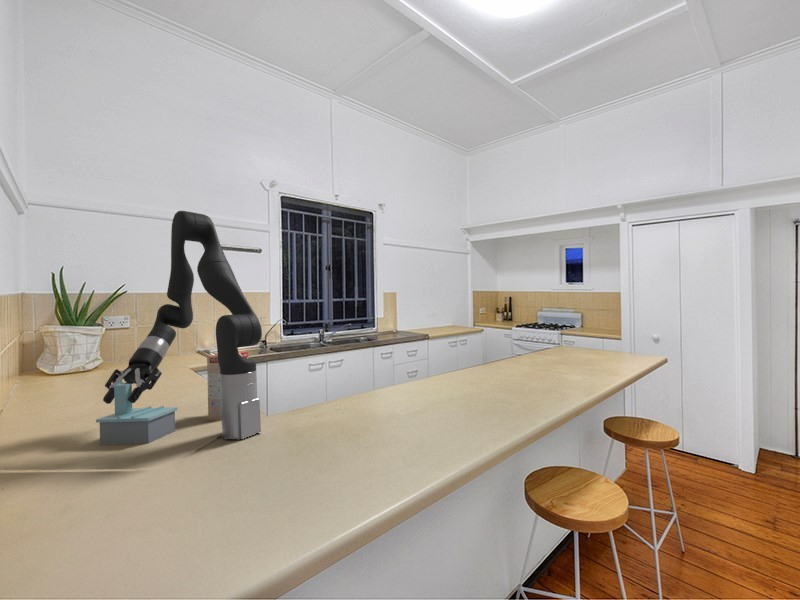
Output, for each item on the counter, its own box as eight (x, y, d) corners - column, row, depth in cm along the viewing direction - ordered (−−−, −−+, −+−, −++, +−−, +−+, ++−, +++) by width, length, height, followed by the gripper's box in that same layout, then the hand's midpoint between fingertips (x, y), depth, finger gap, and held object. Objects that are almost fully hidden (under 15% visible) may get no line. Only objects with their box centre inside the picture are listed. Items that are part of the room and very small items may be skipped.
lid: (177, 409, 108) (176, 379, 108) (148, 421, 97) (147, 387, 97) (130, 411, 110) (129, 381, 110) (96, 422, 99) (95, 389, 99)
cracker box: (224, 422, 117) (221, 355, 117) (207, 421, 118) (205, 355, 118) (251, 410, 130) (248, 350, 131) (235, 410, 131) (233, 351, 132)
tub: (175, 433, 107) (174, 410, 108) (148, 445, 98) (148, 420, 98) (130, 434, 109) (130, 411, 109) (100, 446, 99) (99, 421, 99)
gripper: (121, 347, 113) (85, 395, 101) (165, 345, 111) (134, 393, 99) (135, 362, 118) (103, 409, 106) (177, 360, 116) (150, 408, 104)
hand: (118, 401), depth 102 cm, fingers open, 7 cm apart
